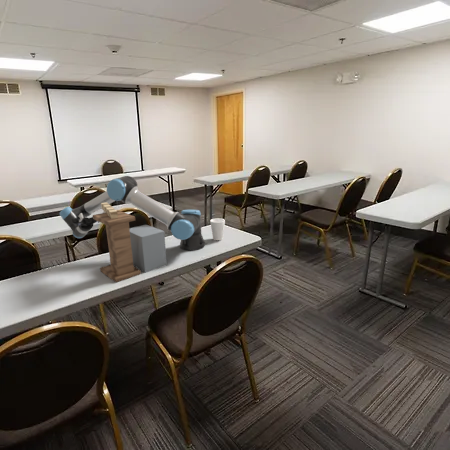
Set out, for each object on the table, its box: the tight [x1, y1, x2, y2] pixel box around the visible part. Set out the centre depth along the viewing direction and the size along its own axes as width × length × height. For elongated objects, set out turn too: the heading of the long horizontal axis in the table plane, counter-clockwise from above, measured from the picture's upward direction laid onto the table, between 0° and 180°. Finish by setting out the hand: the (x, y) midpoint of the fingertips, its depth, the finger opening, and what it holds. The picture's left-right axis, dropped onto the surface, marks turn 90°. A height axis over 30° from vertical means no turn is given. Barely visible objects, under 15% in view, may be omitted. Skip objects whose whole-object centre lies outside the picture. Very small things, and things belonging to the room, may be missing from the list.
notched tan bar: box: [101, 202, 118, 219], centre depth 158 cm, size 24×3×3 cm, turn 31°
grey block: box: [129, 224, 168, 273], centre depth 169 cm, size 18×13×19 cm
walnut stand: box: [92, 209, 142, 283], centre depth 157 cm, size 18×13×30 cm
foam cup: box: [209, 217, 226, 241], centre depth 206 cm, size 10×9×13 cm
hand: (95, 213), depth 168 cm, fingers open, 13 cm apart
